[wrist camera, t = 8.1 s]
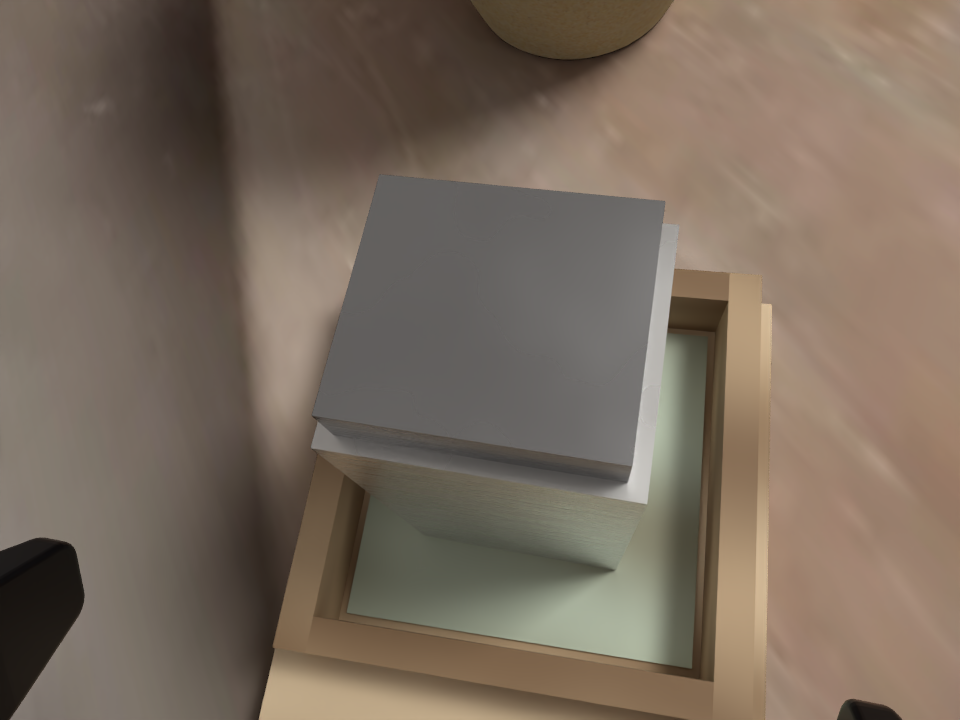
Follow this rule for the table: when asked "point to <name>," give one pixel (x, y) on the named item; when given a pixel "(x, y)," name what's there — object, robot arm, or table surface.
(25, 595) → the robot arm
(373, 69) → the table surface
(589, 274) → the grey lidded container
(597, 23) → the plant pot
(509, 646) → the wooden tray
